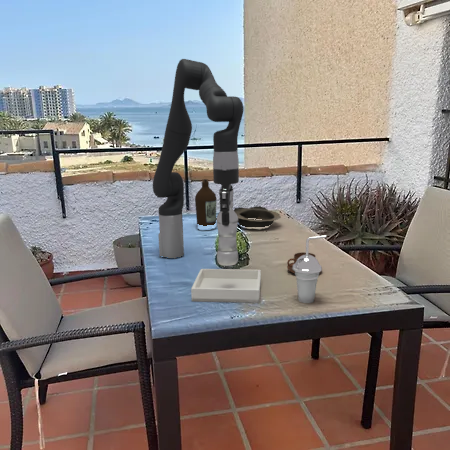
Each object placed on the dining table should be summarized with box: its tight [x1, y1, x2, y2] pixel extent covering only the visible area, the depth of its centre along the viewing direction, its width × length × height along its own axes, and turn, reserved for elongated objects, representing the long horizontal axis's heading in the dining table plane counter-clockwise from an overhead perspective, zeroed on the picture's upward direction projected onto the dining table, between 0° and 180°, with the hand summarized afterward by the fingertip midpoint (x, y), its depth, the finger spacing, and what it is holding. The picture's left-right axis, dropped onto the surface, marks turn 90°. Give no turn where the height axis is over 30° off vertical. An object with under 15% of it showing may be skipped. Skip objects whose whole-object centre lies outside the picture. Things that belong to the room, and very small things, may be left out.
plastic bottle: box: [216, 200, 239, 267], centre depth 131 cm, size 6×7×20 cm
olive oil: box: [194, 178, 217, 226], centre depth 214 cm, size 11×11×25 cm
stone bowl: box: [233, 205, 282, 227], centre depth 218 cm, size 25×25×9 cm
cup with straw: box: [292, 234, 327, 304], centre depth 125 cm, size 8×9×20 cm
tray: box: [190, 268, 262, 304], centre depth 135 cm, size 20×18×4 cm
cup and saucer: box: [286, 251, 316, 274], centre depth 151 cm, size 12×12×6 cm
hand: (226, 222), depth 130 cm, fingers closed on plastic bottle, 6 cm apart
